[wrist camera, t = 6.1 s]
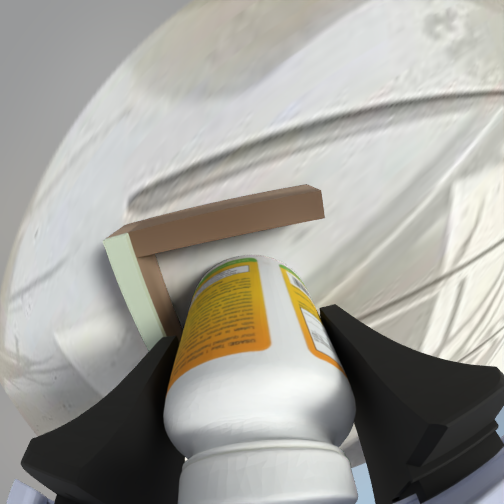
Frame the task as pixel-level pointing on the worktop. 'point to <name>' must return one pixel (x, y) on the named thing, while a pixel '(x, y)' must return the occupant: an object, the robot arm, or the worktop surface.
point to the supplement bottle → (259, 393)
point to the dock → (191, 233)
